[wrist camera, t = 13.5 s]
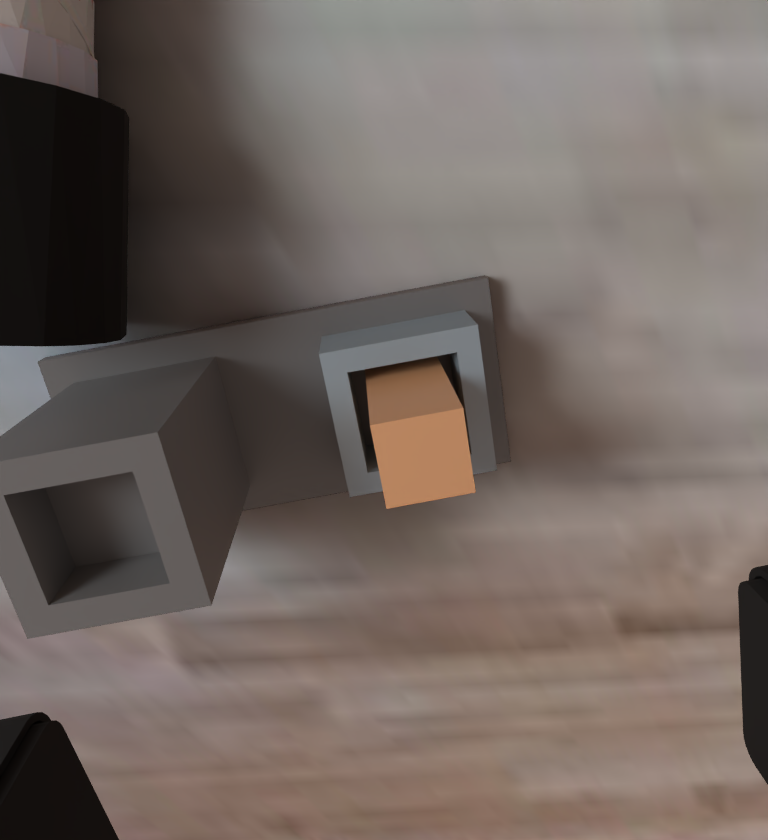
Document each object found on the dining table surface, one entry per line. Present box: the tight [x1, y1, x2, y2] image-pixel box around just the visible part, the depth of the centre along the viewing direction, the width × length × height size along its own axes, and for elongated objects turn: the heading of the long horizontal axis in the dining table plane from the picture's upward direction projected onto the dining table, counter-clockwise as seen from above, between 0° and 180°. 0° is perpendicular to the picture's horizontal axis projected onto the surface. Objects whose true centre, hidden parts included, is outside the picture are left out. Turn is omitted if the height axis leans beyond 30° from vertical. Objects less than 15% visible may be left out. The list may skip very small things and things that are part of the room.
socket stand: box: [0, 276, 511, 639], centre depth 34 cm, size 25×11×13 cm, turn 100°
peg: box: [365, 356, 476, 509], centre depth 34 cm, size 4×4×10 cm
